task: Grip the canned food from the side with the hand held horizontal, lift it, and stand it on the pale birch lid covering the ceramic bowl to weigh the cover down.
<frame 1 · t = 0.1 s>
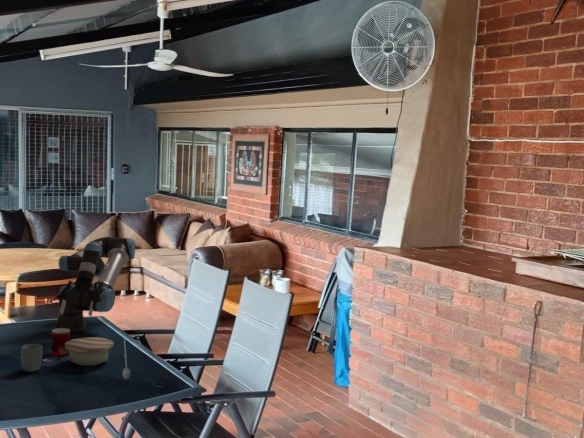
hand: (75, 314, 306), 15 cm above the table, tool tilted 35°, fingers open, 13 cm apart
bowl cover: (89, 344, 284), on the bowl, point 7 cm above the table
cup: (31, 371, 270), on the table
canned food: (60, 355, 294), on the table
bowl: (88, 362, 285), on the table
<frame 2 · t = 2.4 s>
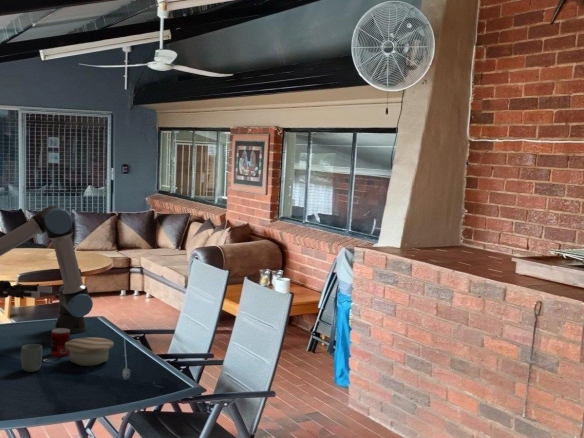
hand: (45, 292, 298), 26 cm above the table, tool horizontal, fingers open, 13 cm apart
nothing on the table moved.
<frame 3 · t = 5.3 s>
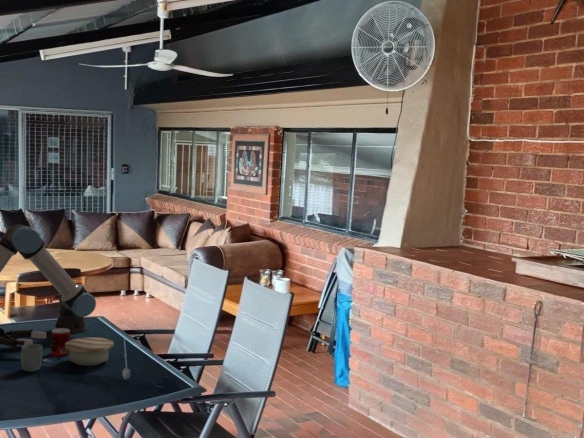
hand: (39, 339, 294), 6 cm above the table, tool horizontal, fingers open, 13 cm apart
nothing on the table moved.
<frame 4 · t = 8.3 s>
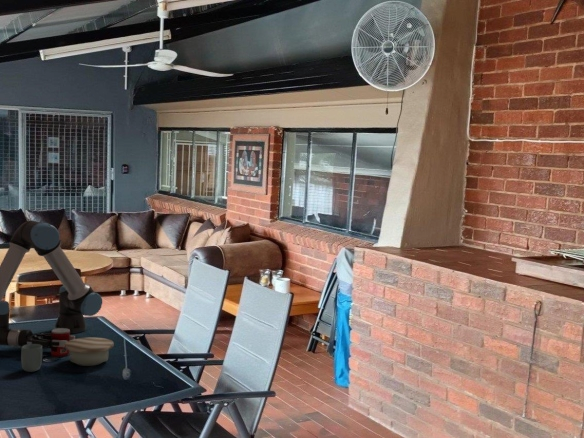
hand: (71, 341, 293), 6 cm above the table, tool horizontal, fingers closed on canned food, 8 cm apart
canned food: (60, 354, 294), on the table, touching gripper
everything else where it was.
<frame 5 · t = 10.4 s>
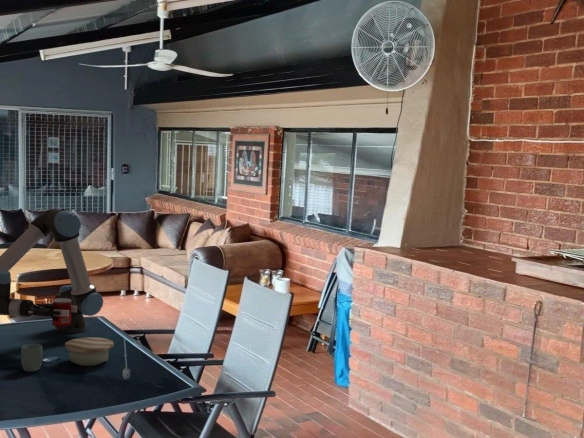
hand: (72, 311, 291), 20 cm above the table, tool horizontal, fingers closed on canned food, 8 cm apart
canned food: (61, 324, 292), point 14 cm above the table, touching gripper
everything else where it was.
when the fingers open (16 cm above the table, at t = 12.8 s): canned food drops 1 cm, resting on bowl cover.
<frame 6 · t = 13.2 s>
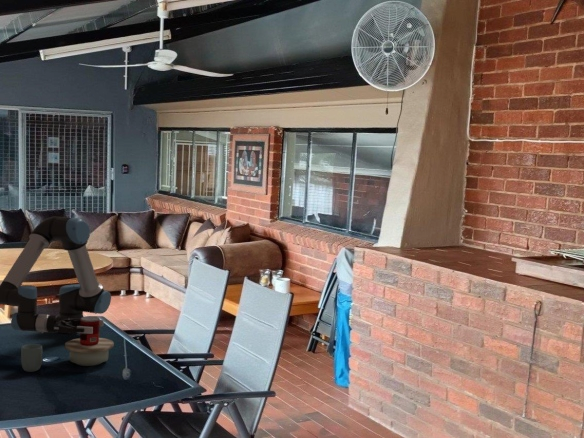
hand: (98, 326, 284), 16 cm above the table, tool horizontal, fingers open, 12 cm apart
canned food: (89, 343, 284), point 8 cm above the table, touching bowl cover
everything else where it was.
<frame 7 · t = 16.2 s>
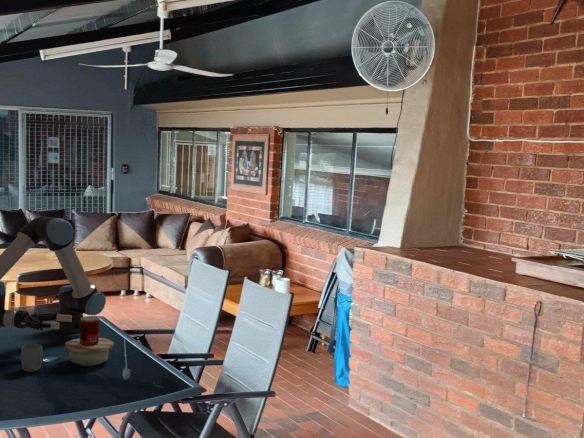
hand: (65, 322, 285), 17 cm above the table, tool horizontal, fingers open, 13 cm apart
nothing on the table moved.
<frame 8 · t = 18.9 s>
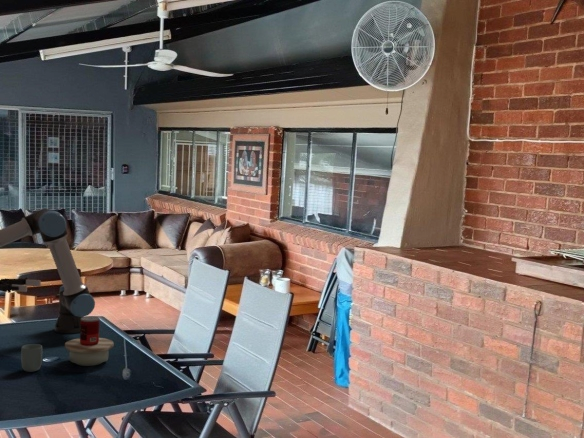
hand: (33, 285, 292), 30 cm above the table, tool horizontal, fingers open, 13 cm apart
nothing on the table moved.
at the end: canned food inside the target area on the bowl cover (0.1 cm from its centre), point 8.0 cm above the bowl cover's base; canned food tilted 0°; the gripper is holding nothing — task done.
